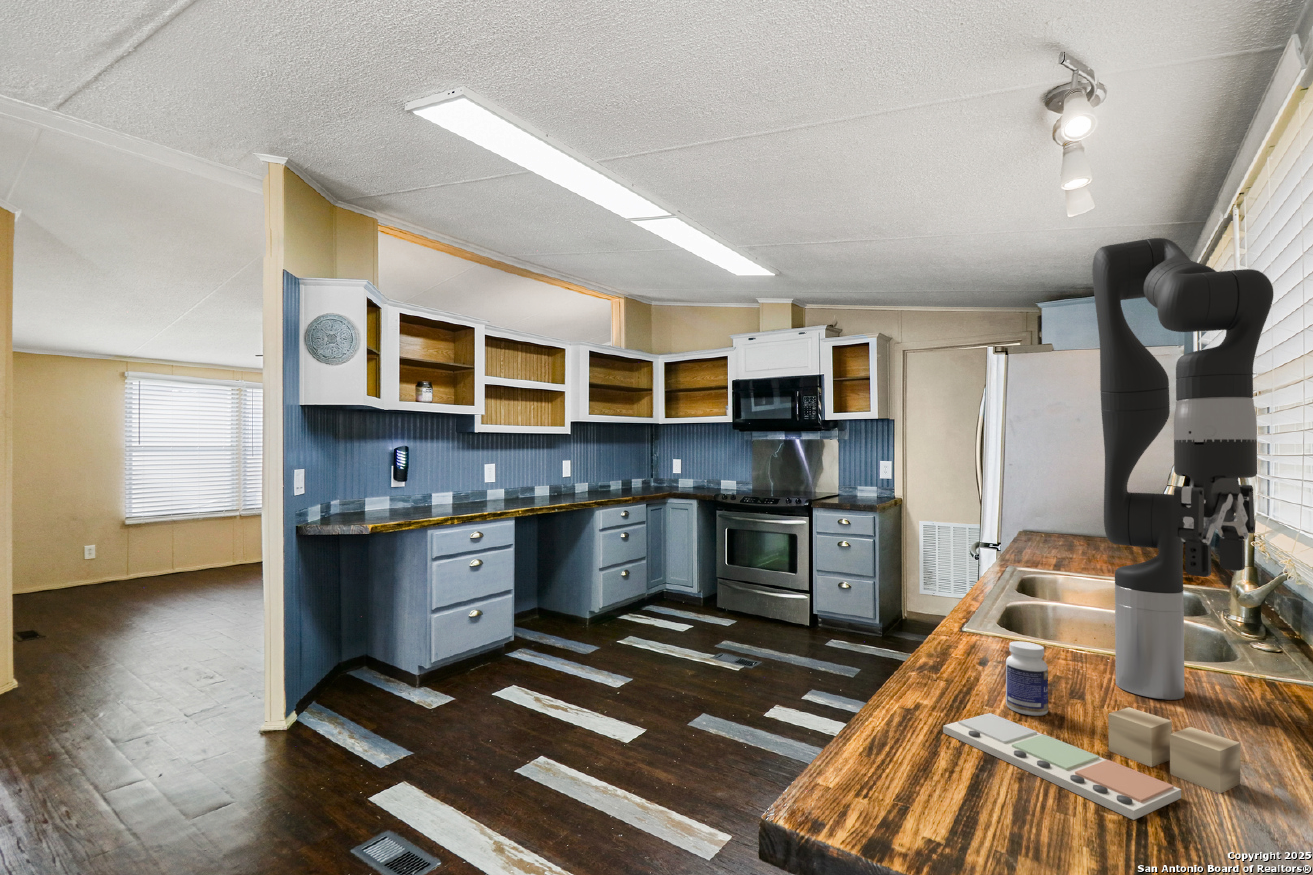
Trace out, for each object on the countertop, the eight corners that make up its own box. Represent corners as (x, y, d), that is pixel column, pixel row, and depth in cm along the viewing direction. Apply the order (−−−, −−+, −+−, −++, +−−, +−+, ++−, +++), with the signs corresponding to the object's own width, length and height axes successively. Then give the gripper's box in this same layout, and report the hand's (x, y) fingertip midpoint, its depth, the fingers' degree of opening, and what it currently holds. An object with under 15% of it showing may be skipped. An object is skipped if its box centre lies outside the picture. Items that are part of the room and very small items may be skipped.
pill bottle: (1054, 718, 95) (1054, 651, 96) (1013, 715, 97) (1012, 649, 97) (1039, 704, 101) (1039, 640, 101) (1000, 700, 102) (1000, 638, 102)
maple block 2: (1190, 766, 81) (1190, 726, 81) (1240, 784, 77) (1240, 742, 77) (1170, 774, 79) (1169, 734, 79) (1220, 794, 75) (1219, 750, 75)
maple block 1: (1129, 743, 88) (1128, 707, 88) (1172, 759, 83) (1171, 720, 83) (1108, 751, 85) (1108, 713, 85) (1151, 767, 81) (1151, 727, 81)
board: (989, 719, 95) (989, 710, 95) (1181, 797, 73) (1180, 786, 73) (943, 732, 90) (943, 723, 90) (1133, 819, 69) (1133, 807, 69)
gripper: (1204, 438, 83) (1205, 563, 83) (1147, 436, 77) (1148, 572, 76) (1280, 437, 77) (1282, 573, 76) (1225, 435, 70) (1227, 583, 70)
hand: (1215, 572), depth 76 cm, fingers open, 8 cm apart
